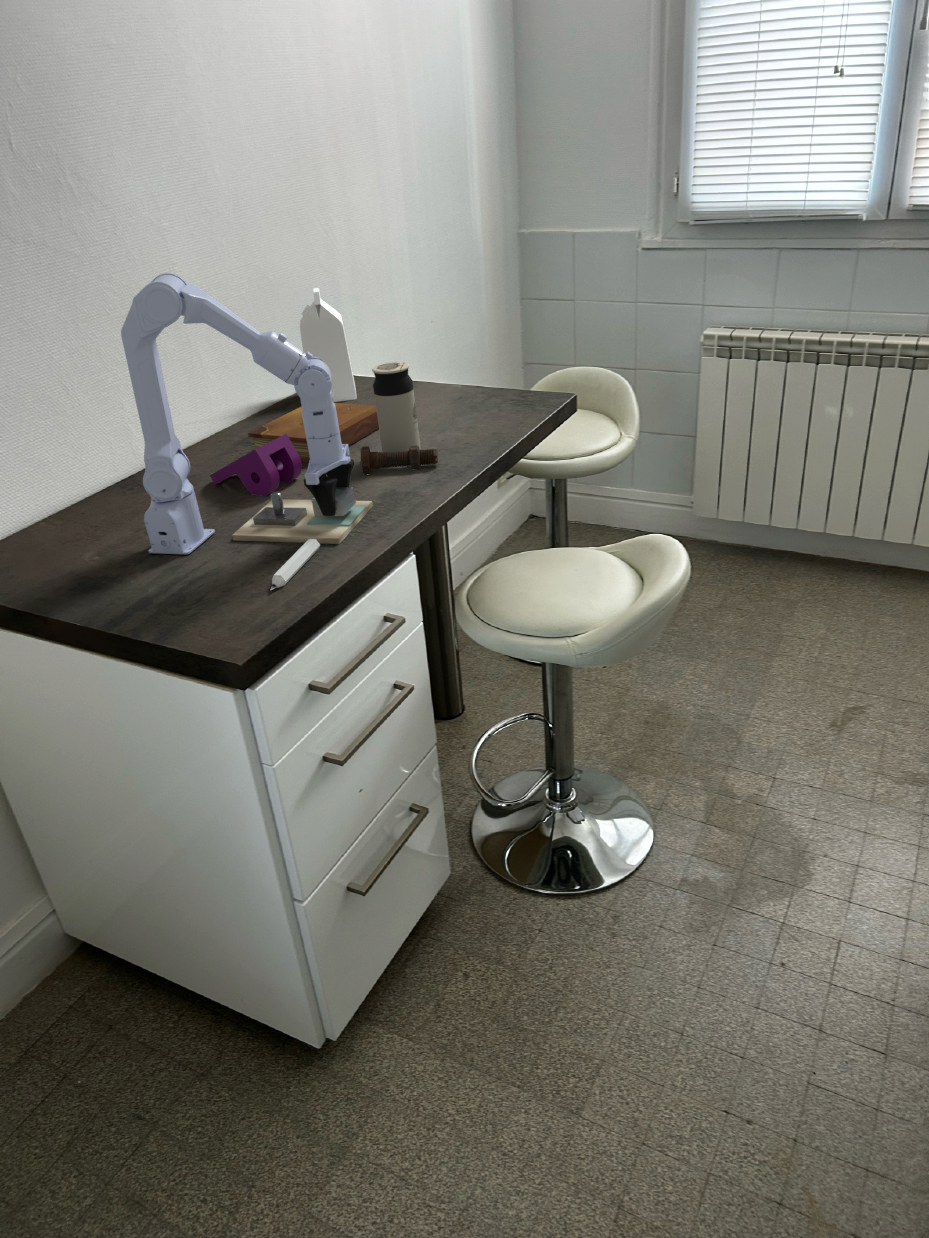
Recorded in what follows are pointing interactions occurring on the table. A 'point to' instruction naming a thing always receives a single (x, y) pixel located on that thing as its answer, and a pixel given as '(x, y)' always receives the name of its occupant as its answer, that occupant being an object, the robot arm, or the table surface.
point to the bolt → (397, 458)
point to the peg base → (279, 513)
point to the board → (305, 525)
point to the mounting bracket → (264, 467)
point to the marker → (294, 563)
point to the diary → (350, 419)
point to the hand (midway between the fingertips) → (335, 508)
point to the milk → (328, 345)
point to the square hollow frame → (339, 501)
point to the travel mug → (395, 407)
